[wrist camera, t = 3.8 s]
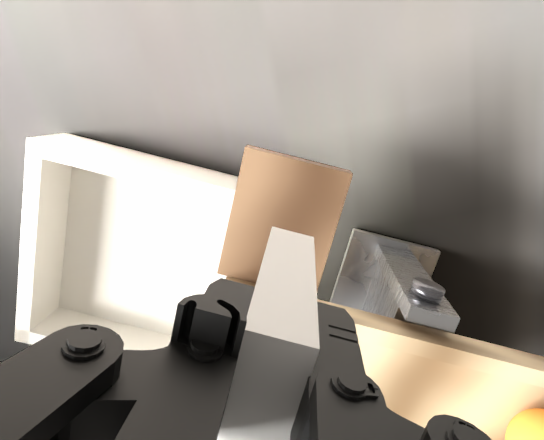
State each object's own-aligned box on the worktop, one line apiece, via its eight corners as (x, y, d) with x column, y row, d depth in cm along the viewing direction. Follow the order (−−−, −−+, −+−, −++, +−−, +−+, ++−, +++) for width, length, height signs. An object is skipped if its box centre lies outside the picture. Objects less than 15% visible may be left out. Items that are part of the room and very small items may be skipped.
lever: (194, 384, 23) (182, 416, 21) (247, 144, 19) (240, 150, 17) (541, 472, 23) (568, 515, 21) (668, 251, 19) (721, 272, 17)
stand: (310, 361, 31) (313, 465, 22) (353, 226, 27) (377, 285, 19) (386, 380, 31) (420, 493, 22) (438, 248, 27) (503, 316, 19)
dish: (49, 311, 31) (14, 340, 27) (65, 132, 27) (26, 137, 23) (211, 352, 31) (199, 387, 27) (251, 179, 27) (243, 192, 23)
